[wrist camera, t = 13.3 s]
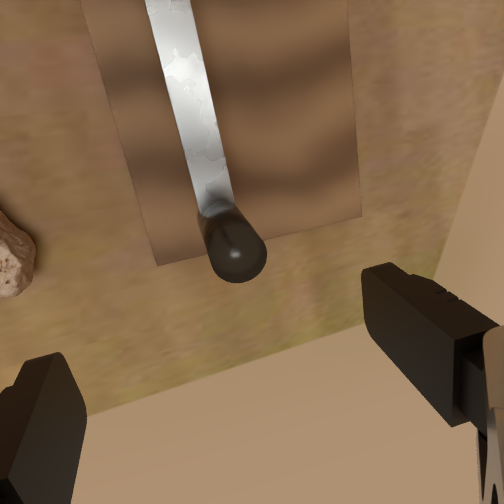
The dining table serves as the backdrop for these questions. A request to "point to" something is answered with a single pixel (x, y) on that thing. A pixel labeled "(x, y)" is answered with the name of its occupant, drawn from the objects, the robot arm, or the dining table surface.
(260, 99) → the board
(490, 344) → the robot arm
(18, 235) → the stone
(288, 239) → the dining table surface
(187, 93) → the lever
